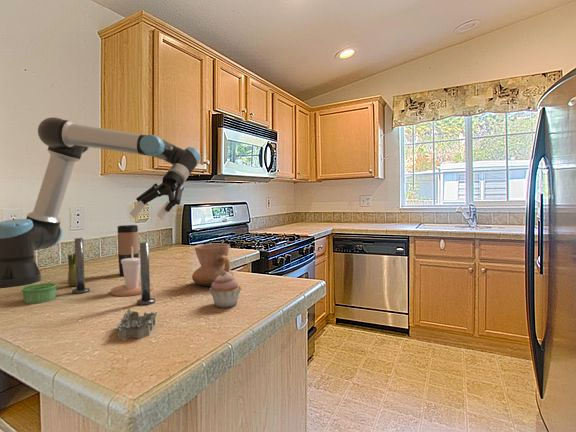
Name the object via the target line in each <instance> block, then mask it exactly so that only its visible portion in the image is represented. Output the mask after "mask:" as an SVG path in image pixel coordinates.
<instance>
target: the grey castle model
mask: <svg viewBox="0 0 576 432" xmlns="http://www.w3.org/2000/svg"><path fill="white" fill-rule="evenodd" d="M157 314H158V312H157V311H156V312H152V311H151V312H150V313H147V312H143V315H140V314H139V312H138V311H131V309H130V308H129V309H127V310H126V311H125V312H124V315H123V318H121V319H120V322H119V323H117V326H116V329H115V332H117V339H126V340H127V338H128V339H129V338H137V339H142V338H146V337H149V336H150V335H151V331H153V330H154V326H155V325H156V324H157V323H156V322H157V321H156V318H157Z"/></svg>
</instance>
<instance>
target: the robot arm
mask: <svg viewBox="0 0 576 432" xmlns="http://www.w3.org/2000/svg"><path fill="white" fill-rule="evenodd" d="M37 135H38V138H39V139H40V141H41V142H42V143H43V144H45V146H48V148H47V152H48V153H49V155H50V156H49V159H48V163H47V165H46V169H45V173H44V175H43V179H42V182H41V186H40V188H39V192H38V195H37V199H36V201H35V204H34V208H33V211H31V212H28V213H27V216H26V218H16V219H9V220H3V221H0V288H4V287H5V288H6V287H16V286H23V285H28V284H32V283H37V282H39V281H41V280H42V274H41V272H40V269H39V267H38V265H37V261H36V260H35V251H38V250H45V249H49V248H51V247H53V246H55V245H57V244H58V243H59V242H60V241H61V239H62V236H63V228H61V221H62V220H61V219H60V217H59V214H60V210H61V207H62V205H63V201H64V199H65V194H66V193H67V188H68V185H69V181H70V178H71V175H72V172H73V169H74V166H75V163H76V162H79V161H80V160H81V158H82V155H83V154H84V153H85V152H87V151H88V150H89V149H90V148H93V149H98V150H99V149H100V150H101V149H102V150H107V151H113V152H120V153H128V154H136V155H142V156H148V157H154V158H156V159H159V160H162V161H164V162H166V163H168V164H171V167H170V168H169V169H168V170H167V171H166V173H165V174H164V175H163V177H162V183H160V184H158V183H157V182H156V183H154V184H153V185H152V186H151V187H149V188H148V189H147V190H146V191H144V192H143V193H142V194H140V195H139V196H137V197H136V198H135V200H136V201H137V203H136V205H135V206H134V207H133V208H132V210H131V211H130V212H129V214H130V216H132V218H133V219H137V217H138V216H139V214H140V213H141V212H142V211H143V209H144V208H145V207H146V204H148V203H149V202H152V201H153V200H155V199H156V198H158V197H159V198H160V197H162V196H168V201H166V202H165V203H164V204H163V206H162V207H161V208H160V210H159V211H158V213H157V217H158V218H159V219H160V220H164V219H165V217H166V216H167V215H168V214H169V212H170V211H171V210H172V209H173V207H175V206H176V205H177V206H179V205H181V201H182V194H183V192H184V189H185V187H184V186H183V185H184V183H185V182H186V181H187V179H188V178H189V176H190V175H191V173H192V172H193V171H194V170H195V168H196V167H197V166H198V164H199V162H200V161H201V159H202V157H201V156H202V155H201V154H200V152H199V151H198V149H196V148H194V147H190V146H188V147H186V148H185V149H182V148H181V147H178V146H176V145H175V144H172V143H170V142H169V141H166V140H164V139H162V138H161V137H160V136H158V135H154V134H141V133H135V132H129V131H120V130H114V129H108V128H101V127H94V126H87V125H81V124H77V123H75V122H74V121H72V120H69V119H68V120H67V119H62V118H59V117H47V118H45V119H44V120H42V121H40V123H39V125H38V127H37Z"/></svg>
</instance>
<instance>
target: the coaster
mask: <svg viewBox="0 0 576 432" xmlns="http://www.w3.org/2000/svg"><path fill="white" fill-rule="evenodd" d="M153 290H154V285H153V284H152V283H150V292H152V291H153ZM110 295H112V296H116V297H132V296H139V295H140V296H141V282H140V283H138V288H135V289H126V285H125V284H121V285H117V286H115V287H112V288H111V289H110Z"/></svg>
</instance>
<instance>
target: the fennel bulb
mask: <svg viewBox="0 0 576 432" xmlns="http://www.w3.org/2000/svg"><path fill="white" fill-rule="evenodd" d="M67 259H68V262H67V263H68V272H67V284H68V285H69V286H70V287H76V264H75V251H74V253H72V254H67Z"/></svg>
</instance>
